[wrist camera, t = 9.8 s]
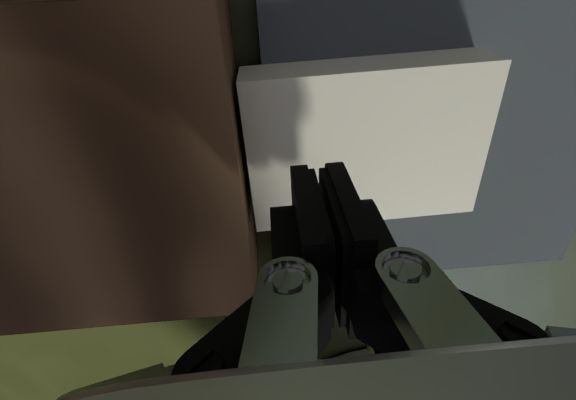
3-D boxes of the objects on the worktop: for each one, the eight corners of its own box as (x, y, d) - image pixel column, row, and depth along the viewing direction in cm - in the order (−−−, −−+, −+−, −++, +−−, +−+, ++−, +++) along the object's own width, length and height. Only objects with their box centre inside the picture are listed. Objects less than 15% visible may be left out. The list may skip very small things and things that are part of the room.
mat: (694, -39, 13) (705, -39, 13) (557, 254, 21) (561, 259, 20) (255, -14, 12) (254, -14, 12) (278, 278, 20) (279, 283, 20)
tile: (474, 47, 14) (511, 59, 12) (446, 183, 17) (472, 211, 15) (239, 66, 13) (236, 82, 11) (256, 200, 17) (256, 231, 15)
